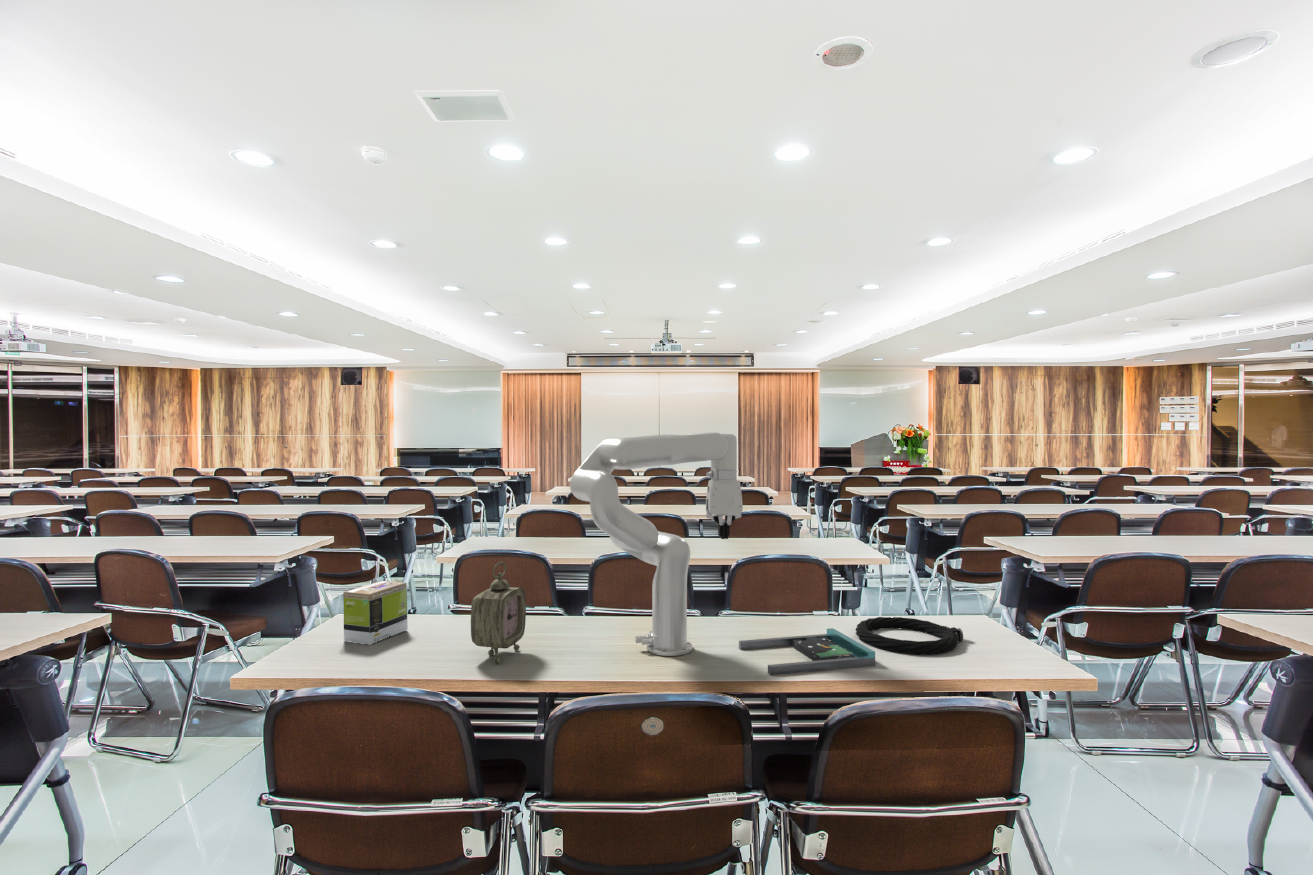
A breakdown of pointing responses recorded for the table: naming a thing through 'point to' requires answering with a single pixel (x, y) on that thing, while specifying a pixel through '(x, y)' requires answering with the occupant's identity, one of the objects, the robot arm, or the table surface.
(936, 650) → the cable lock
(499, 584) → the tabletop clock
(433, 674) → the table surface
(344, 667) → the table surface
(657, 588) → the robot arm
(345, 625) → the tea box
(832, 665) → the guide track
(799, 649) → the disk drive
